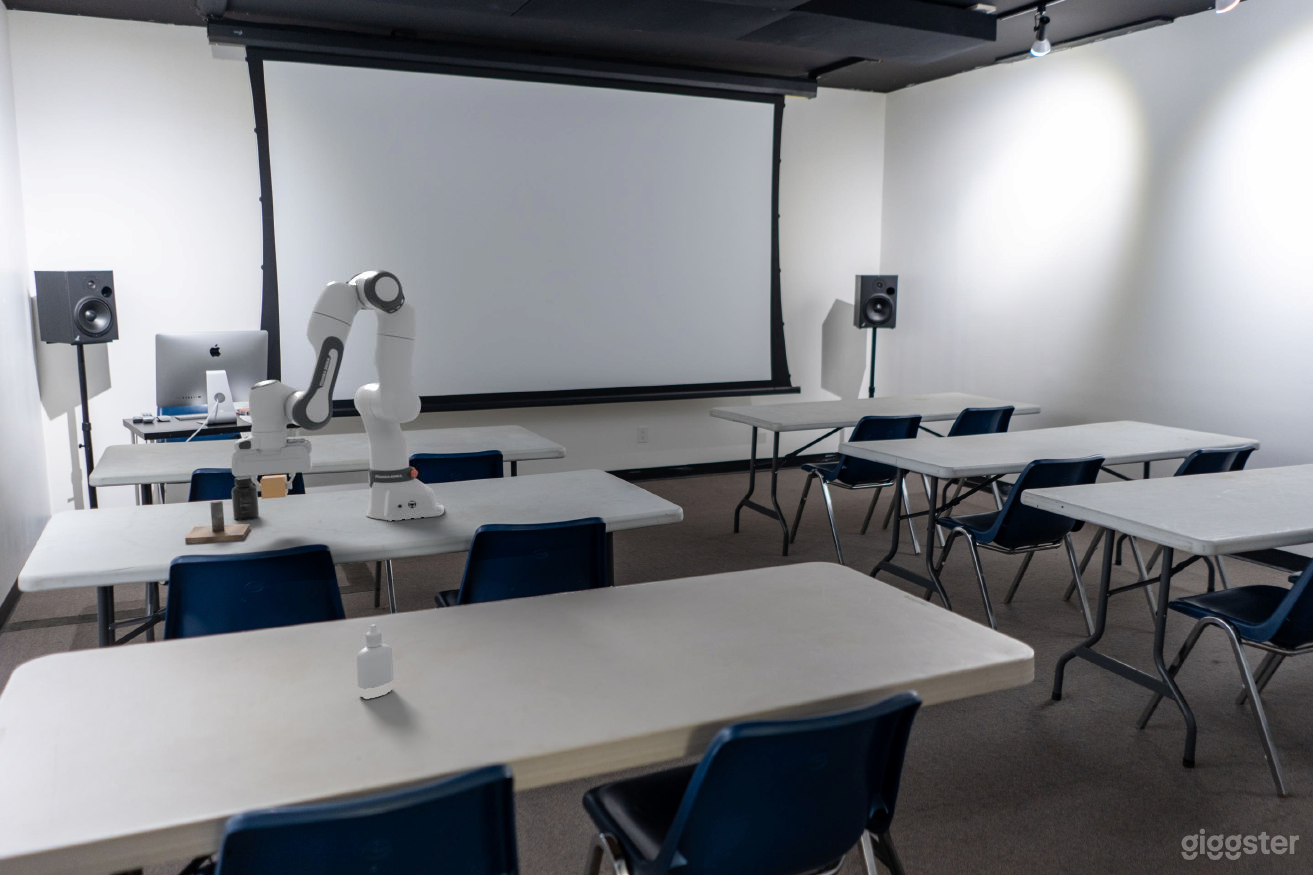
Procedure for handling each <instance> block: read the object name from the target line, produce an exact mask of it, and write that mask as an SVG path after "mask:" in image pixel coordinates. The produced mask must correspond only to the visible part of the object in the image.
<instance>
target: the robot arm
mask: <svg viewBox="0 0 1313 875" xmlns="http://www.w3.org/2000/svg"><path fill="white" fill-rule="evenodd" d="M361 310H364V311H365V310H366V311H367V310H368V311H374V312H375V315H376V318H377V328H376V333H375V334H376V335H375V340H374V341H375V342H374V348H373V356H372V362H373V365H374V366H375V369H376V371H377V376H378V382H371V383H367V384H364V385H362V386H360V387H359V388H358V389H357V390H356V392H355V394H354V396H353V397H354V398H353V403H354V406H355V409H356V411H358V414H360V417H361V420H362V423H363V426H364V429H365V432H366V433H365V434H366V436H367V443H368V452H369V469H368V473H367V474H368V486H369V491H370V492H369V501H368V507H367V511H366V516H367V517H369V518H372V519H378V520H384V521H387V520H388V522H393V521H392V520H395V521H401V520H402V519H405V520H411V518H414V519H422V518H421V517H424V518H430V517H431V518H432V517H439V516H441V515H443V514H444V513H445V507H444V505H443V504H440V503H438V502H437V497H436V494H435V492H434V490H433V489H432V488H431V487H430V486H428V485H427V484H425V483H424V482H422V481H421V480H419V479H418V478H417V476H418V474H419V471H418V470H417V469H416V468H415V467H413V466H411V465H410V462H409V443H408V441H409V440H408V439H407V437H406V435H405V434H404V433H403V431H402V427H401V424H405V423H409V422H412V421H414V420H415V419H416V418H417V417H418V416H419V414H420V412H421V407H422V402H421V398H420V397H419V395H418V393H417V392H416V388H415V383H414V377H413V357H414V350H415V340H416V332H417V329H416V328H417V316H416V315H417V314H416V310H415V308H414V306H413V304H411V303H410V302H408V301H407V300H406V299H405V295H404V292H403V286H402V284H401V281H400V280H399V278H398V277H397V276H396V275H395V274H393V273H392V272H390V271H388V270H384V269H383V270H382V269H380V270H379V269H378V270H367V271H365V272H361V273H358V274H355V275H354V276H352V277H351V278H350V279H349V280H348V281H346V282H344V281H339V280H338V281H337V280H335V281H331V282H329V283H327V284H326V285H325V286H324V287H323V289H322V291H321V292H320V294H319V296H318V298H317V300H316V302H315V304H314V306H313V309H312V311H311V313H310V314H311V315H310V317H309V319H308V323H307V330H306V336H307V340H308V342H309V343H310V346H312V347H313V350H314V353H315V356H316V357H315V359H316V360H315V364H314V368H313V372H312V374H311V378H310V380H309V381H310V382H309V384H308V388H307V389H306V390H303V389H299V388H295V387H291V386H289V385H286V384H284V383H283V382H281V381H280V380H278V379H269V380H268V379H266V380H262V381H259V382H256V383H255V384H253V385H251V387H250V388H249V393H248V394H249V395H248V408H249V409H248V410H249V417H250V419H251V423H252V424H251V428H250V431H251V434H250V435H247V436H244V437H241V438H239V439H238V440H236V441H235V442H234V444H233V446H234V450H235V451H234V453H233V454H232V456H231V474H232V475H233V476H234V477H235V478H237V477H243V476H251V480H252V481H253V483H252V484H254V486H255V487H256V489H257V492H261V484H260V482H259V481H258V476H263V475H264V476H268V475H283V474H288V478H289V477H290V479H289V481H287V482H286V483H285V484H286V489H288V490H292V489H293V481H294V478H295V476H296V474H297V473H307V472H310V471H311V469H312V468H313V462H312V456H311V452H312V443H311V441H310V440H308V439H306V438H304V437H303V438H302V437H301V438H300V437H299V438H288V433H287V432H288V430H287V425H290V424H294V425H296V426H300V427H301V428H302V429H304V430H307V431H318V430H321V429H323V428H324V427H326V426H327V425H328V424H329V422H330V421H331V419H332V417H333V412H334V411H333V410H334V407H333V395H334V390H335V388H336V387H335V386H336V383H337V380H338V376H339V373H340V369H341V367H342V363H343V362H342V361H343V357H344V353H345V352H344V351H345V346H346V344H347V340H348V337H349V334H350V333H351V332H350V331H351V330H352V326H353V324H354V320H355V317H356V316H357V313H358V312H359V311H361ZM402 521H403V520H402Z"/></svg>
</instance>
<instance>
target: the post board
mask: <svg viewBox="0 0 1313 875" xmlns="http://www.w3.org/2000/svg"><path fill="white" fill-rule="evenodd" d="M209 503H210V504H209V505H210V516H211V517H210V518H211V525H206V526H205V525H203V526H193V528H192V529H191V531H190V532H189V533H188V534H187V535H186V536H185V538H184V539H185V540H184V541H185V544H186V543H189V544H201V543H202V542H203V543H204V542H205V543H218V542H234V541H244V540H245V538H246V537H247V535H248V533H249V532H250V530H251V524H250V523H239V524H238V523H236V524H225V517H224V515H225V514H224V506H223V505H224V503H223V500H213V501H210V502H209ZM192 542H193V543H192ZM195 542H197V543H195ZM198 542H200V543H198ZM203 543H202V544H203Z"/></svg>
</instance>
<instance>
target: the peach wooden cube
mask: <svg viewBox="0 0 1313 875" xmlns="http://www.w3.org/2000/svg"><path fill="white" fill-rule="evenodd" d="M287 476H288V475H287V474H273V475H264V476H263V475H262V477H261V479H260V482H259V483H260V484H261V491H260V492H261V499H262V500H265V499H276V498H286V497H287V495H288V493H289V489H286V484H285V483H286V482H288V477H287Z"/></svg>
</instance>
